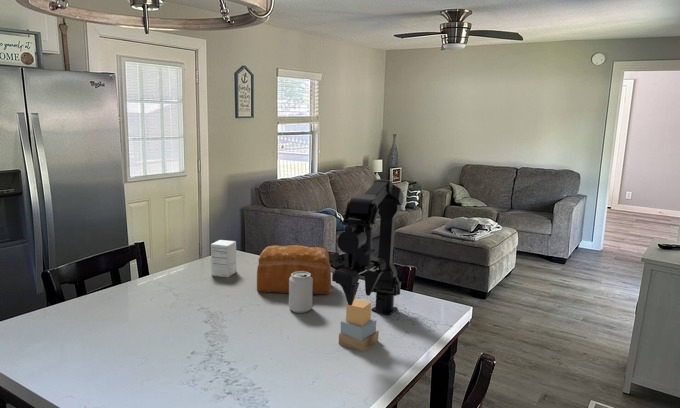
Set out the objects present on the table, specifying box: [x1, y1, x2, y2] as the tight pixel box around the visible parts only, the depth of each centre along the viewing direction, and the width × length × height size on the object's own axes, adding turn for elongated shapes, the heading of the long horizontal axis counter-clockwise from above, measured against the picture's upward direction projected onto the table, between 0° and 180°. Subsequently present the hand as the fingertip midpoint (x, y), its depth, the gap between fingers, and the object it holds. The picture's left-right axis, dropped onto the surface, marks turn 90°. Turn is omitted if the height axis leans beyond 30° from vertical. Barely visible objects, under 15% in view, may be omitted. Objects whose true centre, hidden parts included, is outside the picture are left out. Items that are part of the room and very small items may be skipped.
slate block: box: [340, 318, 377, 341], centre depth 137 cm, size 7×7×4 cm
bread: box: [256, 244, 332, 295], centre depth 179 cm, size 14×26×16 cm, turn 87°
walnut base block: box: [338, 329, 379, 353], centre depth 138 cm, size 8×8×4 cm
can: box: [288, 271, 313, 314], centre depth 160 cm, size 8×8×12 cm
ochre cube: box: [345, 298, 372, 326], centre depth 137 cm, size 5×5×5 cm
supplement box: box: [210, 239, 238, 278], centre depth 193 cm, size 7×7×13 cm
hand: (359, 300), depth 136 cm, fingers open, 9 cm apart
